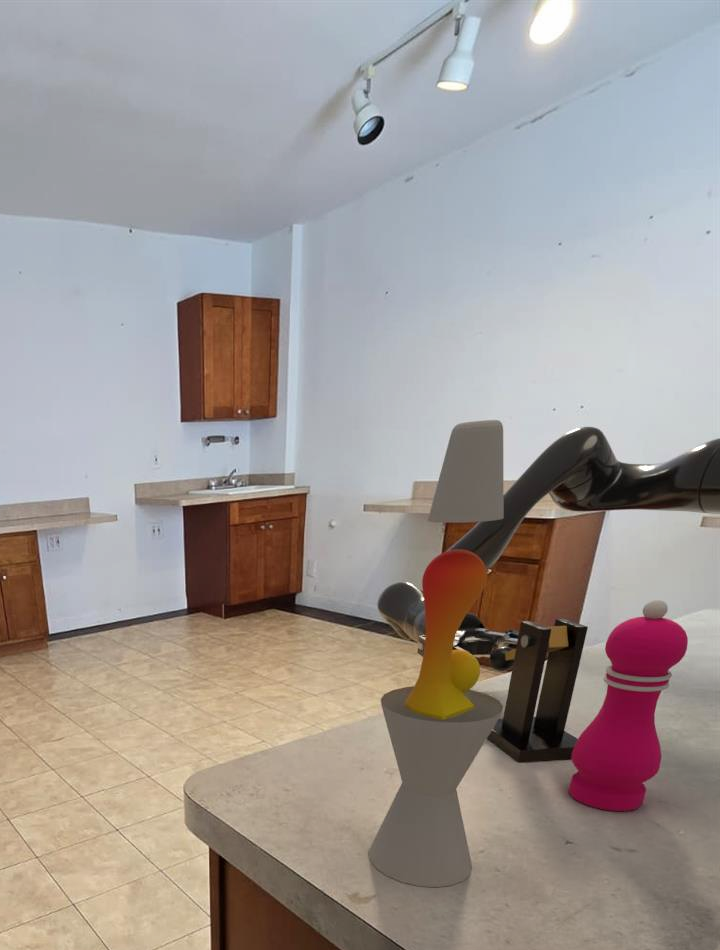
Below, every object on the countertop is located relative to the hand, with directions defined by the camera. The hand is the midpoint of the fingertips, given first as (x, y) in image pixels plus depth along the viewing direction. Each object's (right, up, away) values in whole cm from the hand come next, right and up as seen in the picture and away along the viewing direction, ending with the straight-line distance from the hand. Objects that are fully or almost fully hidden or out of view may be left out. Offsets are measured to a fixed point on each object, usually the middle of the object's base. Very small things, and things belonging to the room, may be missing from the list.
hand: (500, 659), depth 84 cm
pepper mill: (0, -17, -18) cm, 25 cm away
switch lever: (0, -1, -6) cm, 6 cm away
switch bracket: (+1, -11, -5) cm, 12 cm away
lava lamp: (-22, -23, -26) cm, 41 cm away
